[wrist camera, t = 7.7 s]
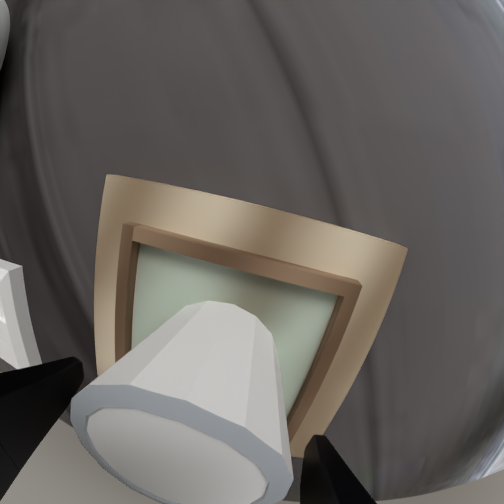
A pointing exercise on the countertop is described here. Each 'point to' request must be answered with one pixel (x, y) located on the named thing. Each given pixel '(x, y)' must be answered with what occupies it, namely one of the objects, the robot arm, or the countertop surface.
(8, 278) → the soap bar
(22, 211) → the countertop surface
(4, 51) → the serving bowl
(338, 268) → the board
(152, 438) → the white tapered cylinder
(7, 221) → the countertop surface
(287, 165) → the countertop surface
